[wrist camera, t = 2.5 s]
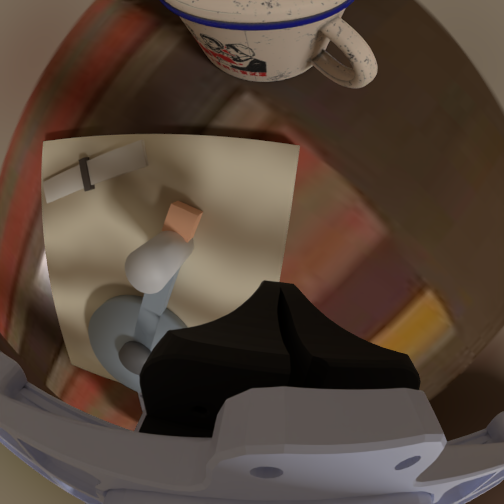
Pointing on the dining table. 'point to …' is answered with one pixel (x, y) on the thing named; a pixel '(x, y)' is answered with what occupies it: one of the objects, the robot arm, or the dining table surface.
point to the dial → (144, 299)
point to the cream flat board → (161, 221)
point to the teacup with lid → (277, 38)
